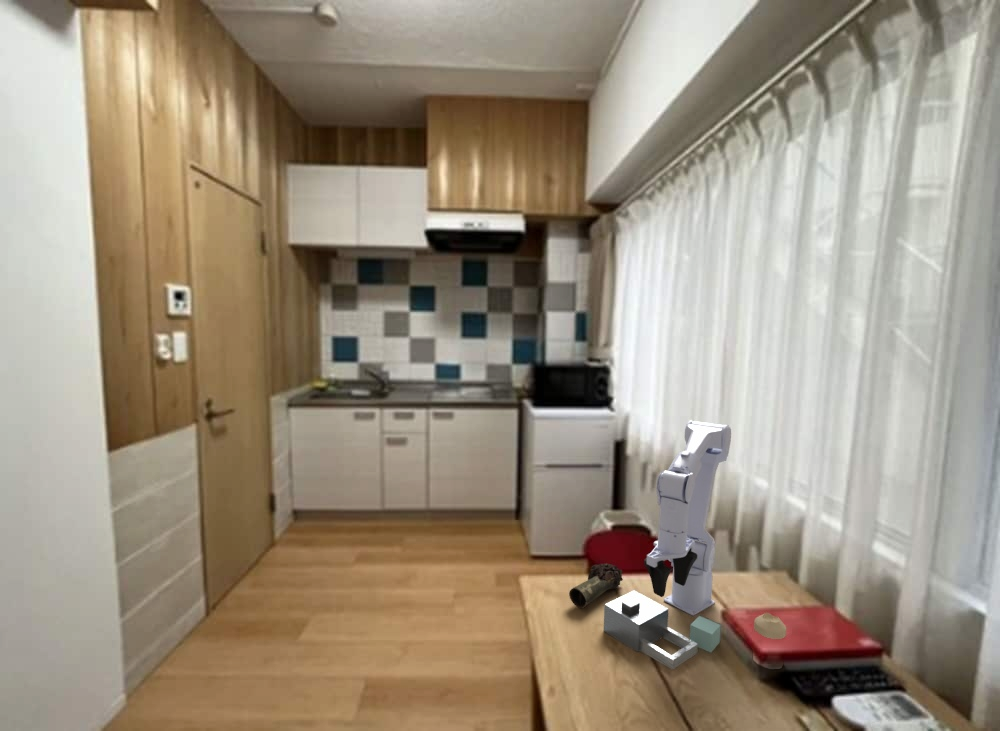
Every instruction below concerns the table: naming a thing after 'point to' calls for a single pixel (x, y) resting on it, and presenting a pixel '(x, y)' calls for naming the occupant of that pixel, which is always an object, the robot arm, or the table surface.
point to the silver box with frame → (645, 628)
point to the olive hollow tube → (596, 584)
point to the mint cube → (705, 633)
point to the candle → (770, 626)
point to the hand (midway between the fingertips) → (669, 589)
